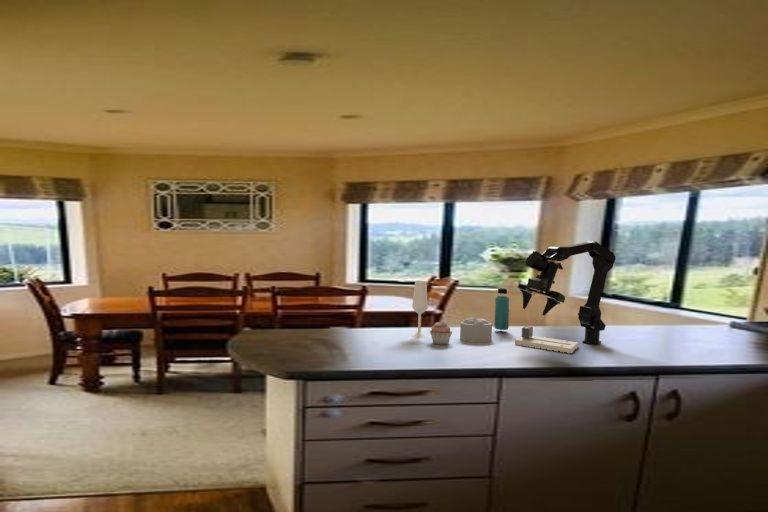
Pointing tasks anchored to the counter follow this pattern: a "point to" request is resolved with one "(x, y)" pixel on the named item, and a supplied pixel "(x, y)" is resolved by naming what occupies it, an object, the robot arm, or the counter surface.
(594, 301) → the robot arm
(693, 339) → the counter surface
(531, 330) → the block
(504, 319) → the beverage bottle
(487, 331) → the lumpy-topped squat cylinder
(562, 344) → the panel
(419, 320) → the champagne flute
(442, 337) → the cupcake
